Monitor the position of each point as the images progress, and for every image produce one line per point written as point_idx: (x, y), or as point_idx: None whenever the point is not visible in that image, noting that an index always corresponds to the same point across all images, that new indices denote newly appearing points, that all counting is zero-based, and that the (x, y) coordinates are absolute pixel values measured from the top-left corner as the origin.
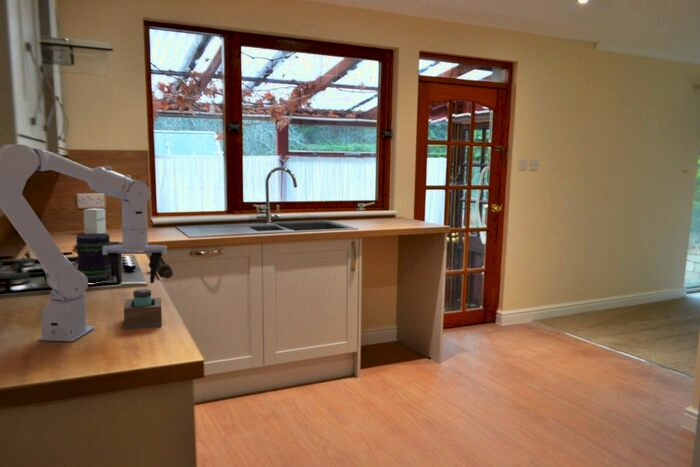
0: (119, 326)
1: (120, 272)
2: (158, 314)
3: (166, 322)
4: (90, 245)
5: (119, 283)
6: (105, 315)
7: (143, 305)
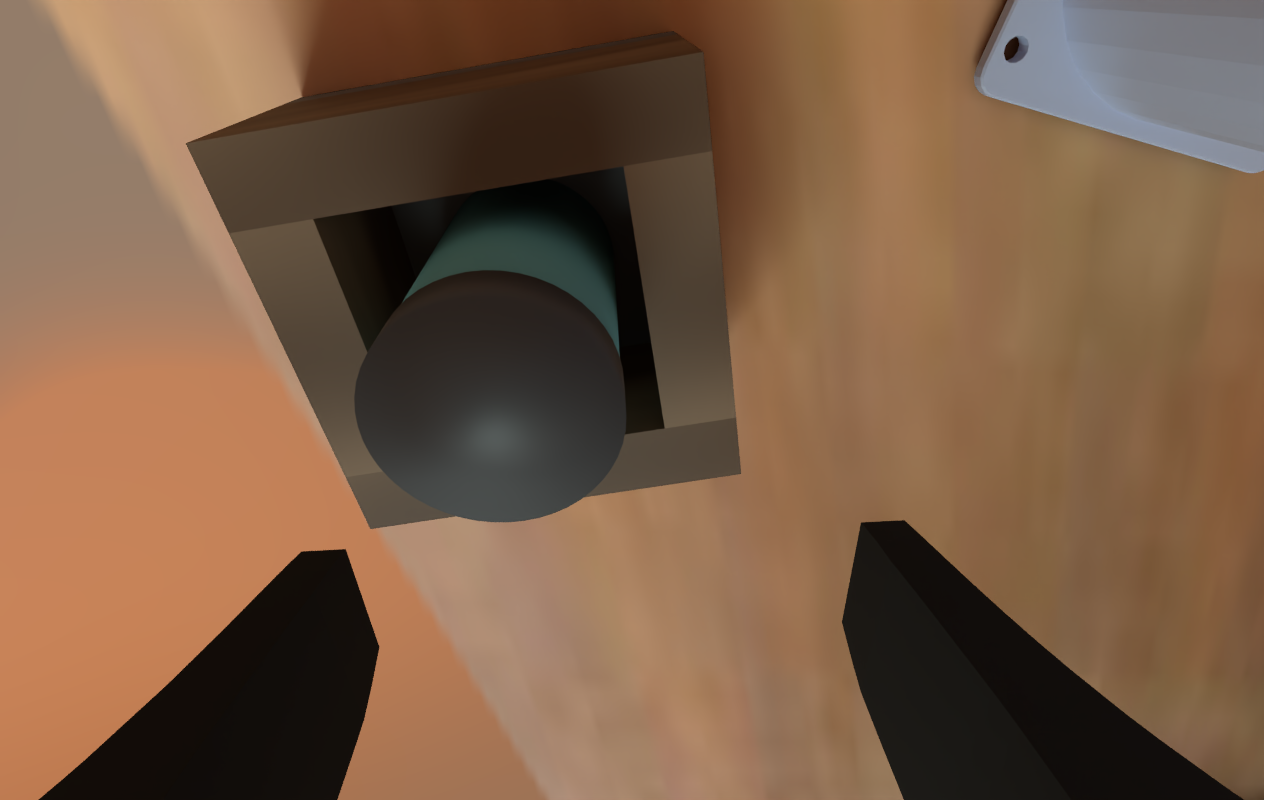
0: (736, 139)
1: (923, 762)
2: (275, 115)
3: None
4: None
5: (873, 524)
6: (883, 452)
7: (473, 235)
